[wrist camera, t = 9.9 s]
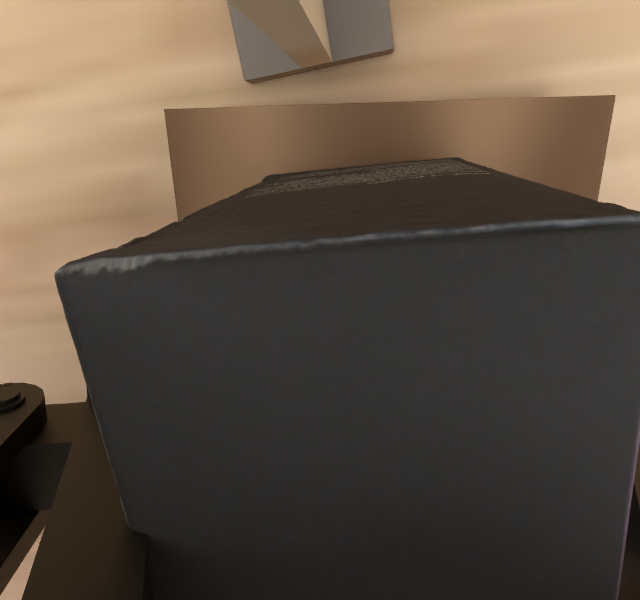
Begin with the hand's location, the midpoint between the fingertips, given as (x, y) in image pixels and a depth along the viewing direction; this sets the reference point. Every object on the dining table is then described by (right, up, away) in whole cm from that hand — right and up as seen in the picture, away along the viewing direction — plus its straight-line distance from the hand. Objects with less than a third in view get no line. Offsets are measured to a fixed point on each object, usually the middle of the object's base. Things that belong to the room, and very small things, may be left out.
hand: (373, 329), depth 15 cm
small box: (0, 0, +1) cm, 1 cm away
